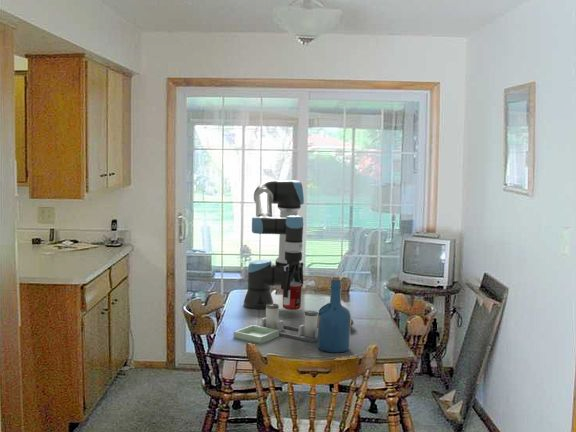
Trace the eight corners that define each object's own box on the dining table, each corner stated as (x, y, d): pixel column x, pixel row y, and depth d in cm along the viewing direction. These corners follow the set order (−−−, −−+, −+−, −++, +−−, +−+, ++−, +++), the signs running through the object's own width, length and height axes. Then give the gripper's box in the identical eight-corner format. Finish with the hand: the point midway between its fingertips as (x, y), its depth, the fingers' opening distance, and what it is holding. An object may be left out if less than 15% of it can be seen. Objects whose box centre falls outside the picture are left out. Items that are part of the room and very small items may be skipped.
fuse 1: (263, 329, 307) (263, 305, 306) (269, 326, 312) (270, 303, 311) (273, 331, 304) (274, 307, 303) (280, 328, 309) (281, 304, 308)
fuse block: (253, 330, 306) (253, 320, 305) (269, 324, 317) (269, 314, 316) (313, 342, 289) (314, 332, 289) (329, 336, 300) (329, 326, 300)
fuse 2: (301, 337, 297) (302, 312, 296) (308, 334, 302) (308, 309, 300) (312, 339, 294) (313, 314, 293) (319, 336, 299) (320, 312, 298)
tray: (233, 338, 292) (233, 331, 292) (252, 331, 304) (252, 324, 304) (260, 344, 285) (260, 337, 285) (278, 336, 297) (279, 330, 297)
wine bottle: (347, 344, 289) (350, 273, 285) (351, 354, 275) (354, 280, 272) (315, 343, 288) (317, 273, 285) (317, 353, 275) (320, 279, 272)
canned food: (298, 310, 298) (299, 285, 296) (280, 308, 299) (281, 284, 298) (302, 306, 305) (302, 281, 304) (284, 304, 307) (285, 280, 305)
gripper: (288, 255, 289) (286, 308, 291) (312, 249, 306) (310, 299, 309) (273, 253, 293) (271, 305, 295) (298, 247, 310) (296, 297, 313)
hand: (291, 302), depth 302 cm, fingers closed on canned food, 8 cm apart
